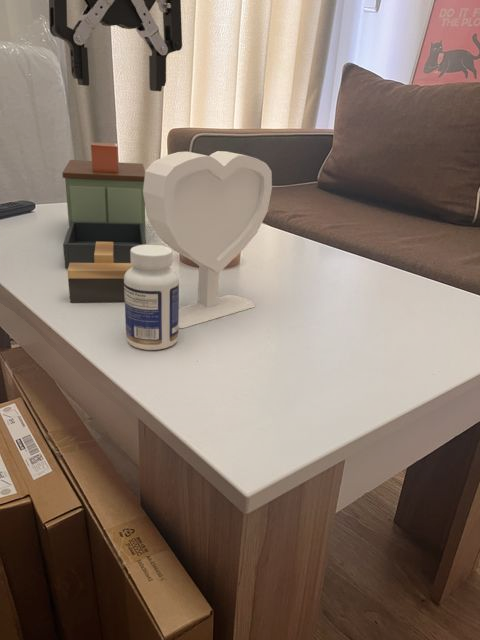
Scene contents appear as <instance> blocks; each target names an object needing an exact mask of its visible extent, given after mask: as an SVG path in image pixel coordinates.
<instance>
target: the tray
mask: <svg viewBox="0 0 480 640" xmlns="http://www.w3.org/2000/svg"><path fill="white" fill-rule="evenodd" d="M145 232H146V231H145ZM145 232H144V226H143V223H110V222H72V221H71V222H70V225H69V224H68V228H67V231H66V234H65V238H64V241H63V245H62V248H63V259H64V260H63V261H64V269H65V270H66V269H67V270H68V267H69V263H95V261H94V252H95V245H96V242H113V246H114V263H131V256H130V254H131V253H130V250H131V248H133V247H135V246H138V245H148V243H147V236H146V237H145Z"/></svg>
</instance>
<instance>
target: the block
mask: <svg viewBox="0 0 480 640" xmlns="http://www.w3.org/2000/svg"><path fill="white" fill-rule="evenodd" d="M90 151H91V154H90V155H91V161H92V171H93V172H112V173H119V168H118V162H119V145H118V143H112V142H97V141H92V142H91V144H90Z"/></svg>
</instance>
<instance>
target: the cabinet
mask: <svg viewBox="0 0 480 640" xmlns="http://www.w3.org/2000/svg"><path fill="white" fill-rule="evenodd" d="M118 168H119V173H112V172H93V171H92V160H84V159H83V160H82V159H70V160H69V161H68V162H67V164H66V166H65V168H64V169H63V171H62V178H63V179H64V181H65V182H64V183H65V195H66V204H67V205H66V208H67V218H68V220H67V221H68V226H69V225H70V222H71V221H72V222H110V223H143V226H144V232H145V237H146V238H147V236H146V235H147V233H146V208H145V201H144V195H143V187H144V178H145V171H146V169H145V166H144V164H143V163H140V162H139V163H138V162H136V163H135V162H120V161H118Z"/></svg>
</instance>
